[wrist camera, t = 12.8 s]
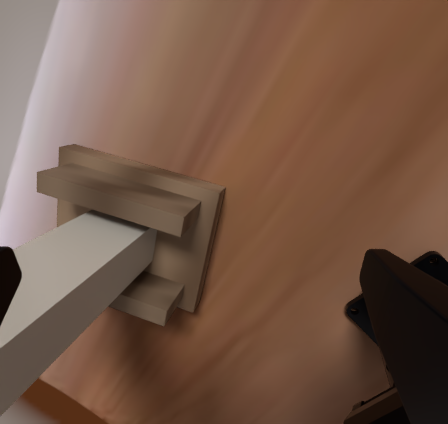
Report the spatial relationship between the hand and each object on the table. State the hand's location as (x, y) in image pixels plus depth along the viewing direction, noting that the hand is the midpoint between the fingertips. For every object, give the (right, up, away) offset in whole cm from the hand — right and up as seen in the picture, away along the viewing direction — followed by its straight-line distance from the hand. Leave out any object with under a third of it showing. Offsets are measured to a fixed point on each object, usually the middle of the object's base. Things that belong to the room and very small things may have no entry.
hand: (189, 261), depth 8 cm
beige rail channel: (-5, 0, +15) cm, 16 cm away
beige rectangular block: (-6, 0, +14) cm, 15 cm away
